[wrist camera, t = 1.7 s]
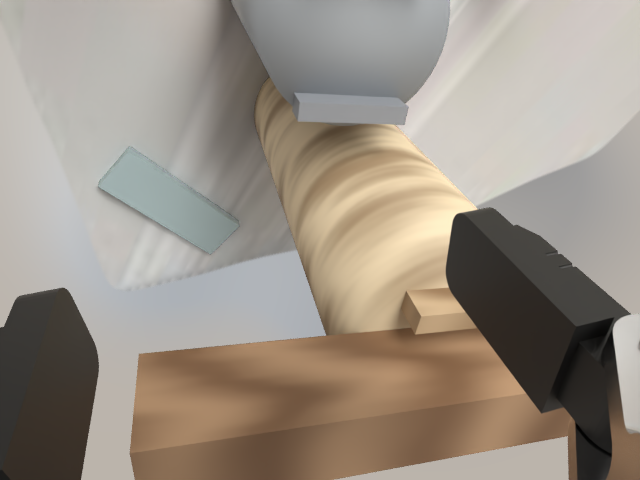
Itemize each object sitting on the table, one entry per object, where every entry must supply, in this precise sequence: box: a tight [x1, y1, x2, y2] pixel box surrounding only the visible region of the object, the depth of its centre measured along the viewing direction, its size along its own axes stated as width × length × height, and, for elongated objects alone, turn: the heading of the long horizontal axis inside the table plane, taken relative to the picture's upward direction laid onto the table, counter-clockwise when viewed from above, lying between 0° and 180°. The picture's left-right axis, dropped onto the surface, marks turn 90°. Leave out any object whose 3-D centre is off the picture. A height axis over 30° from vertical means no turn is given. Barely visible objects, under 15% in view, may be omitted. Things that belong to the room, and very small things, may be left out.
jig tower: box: [254, 77, 478, 336], centre depth 34 cm, size 11×11×34 cm
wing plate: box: [98, 146, 239, 255], centre depth 49 cm, size 14×5×1 cm, turn 43°
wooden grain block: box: [130, 328, 571, 480], centre depth 20 cm, size 22×4×4 cm, turn 83°
